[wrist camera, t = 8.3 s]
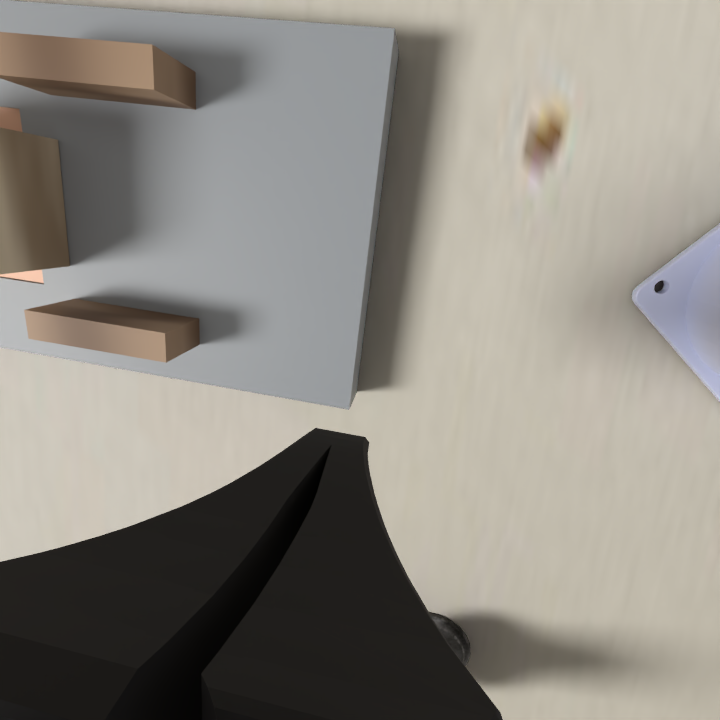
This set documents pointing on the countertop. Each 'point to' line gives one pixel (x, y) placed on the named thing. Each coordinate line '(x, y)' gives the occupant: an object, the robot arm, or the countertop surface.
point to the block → (31, 204)
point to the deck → (221, 195)
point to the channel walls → (119, 84)
